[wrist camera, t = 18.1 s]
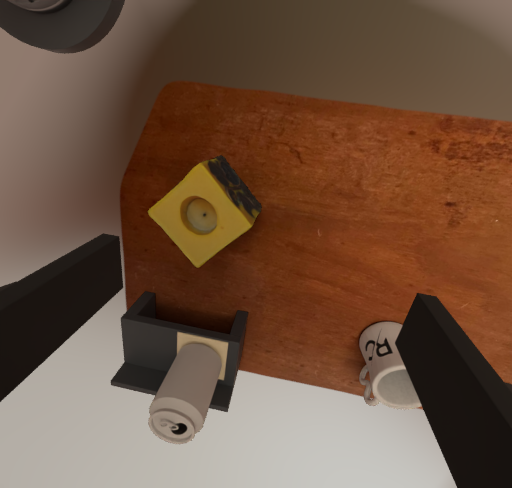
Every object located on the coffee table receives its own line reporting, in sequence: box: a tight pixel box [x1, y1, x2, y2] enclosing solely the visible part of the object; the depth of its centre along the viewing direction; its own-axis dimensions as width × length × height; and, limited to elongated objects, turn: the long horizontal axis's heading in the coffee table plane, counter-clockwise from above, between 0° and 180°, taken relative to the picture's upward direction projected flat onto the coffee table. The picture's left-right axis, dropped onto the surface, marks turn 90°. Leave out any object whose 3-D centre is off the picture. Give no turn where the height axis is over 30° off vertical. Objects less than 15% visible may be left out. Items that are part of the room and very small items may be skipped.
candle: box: [148, 155, 262, 268], centre depth 39 cm, size 10×10×10 cm
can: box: [149, 344, 222, 444], centre depth 40 cm, size 8×8×12 cm
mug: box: [359, 322, 422, 409], centre depth 45 cm, size 12×9×10 cm
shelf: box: [111, 291, 248, 412], centre depth 49 cm, size 20×11×12 cm, turn 82°
